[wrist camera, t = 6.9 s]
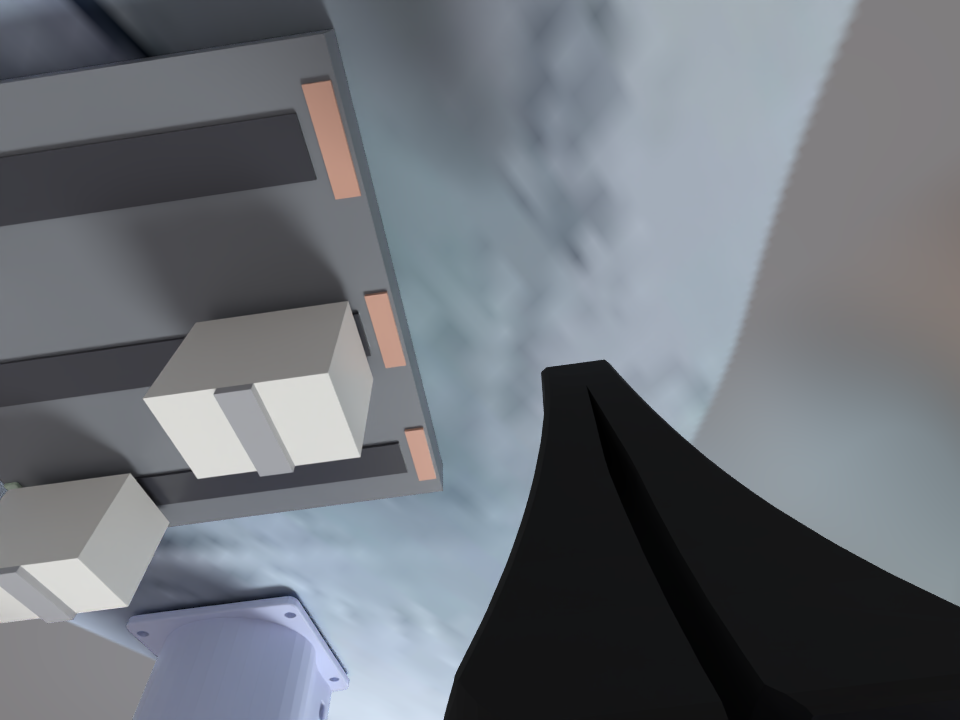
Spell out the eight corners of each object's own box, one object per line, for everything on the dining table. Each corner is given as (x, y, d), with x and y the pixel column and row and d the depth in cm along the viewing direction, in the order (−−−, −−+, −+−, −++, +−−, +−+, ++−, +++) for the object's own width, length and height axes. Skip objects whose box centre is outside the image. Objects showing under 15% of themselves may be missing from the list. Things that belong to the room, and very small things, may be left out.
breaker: (169, 522, 18) (125, 613, 16) (57, 537, 18) (-5, 629, 16) (130, 473, 17) (73, 564, 14) (8, 489, 17) (-71, 583, 14)
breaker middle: (373, 379, 15) (359, 463, 12) (236, 397, 15) (194, 485, 12) (348, 300, 13) (326, 378, 11) (195, 322, 13) (138, 404, 11)
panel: (442, 465, 20) (442, 493, 18) (81, 513, 20) (61, 543, 19) (333, 28, 11) (323, 33, 10) (-287, 124, 12) (-359, 139, 10)
